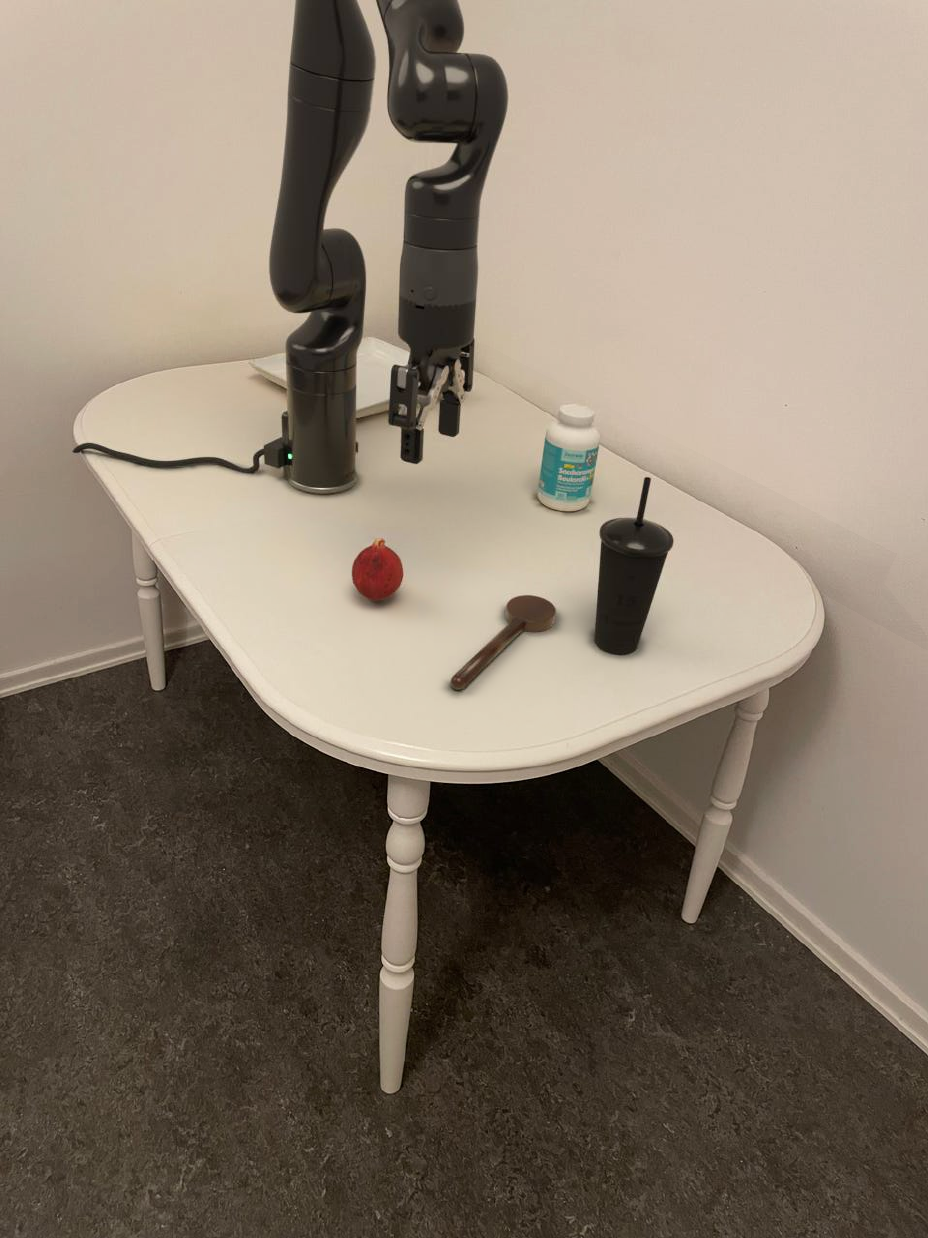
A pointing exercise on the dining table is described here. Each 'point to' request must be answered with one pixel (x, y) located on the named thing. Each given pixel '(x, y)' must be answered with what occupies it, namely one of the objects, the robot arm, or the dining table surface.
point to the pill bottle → (569, 459)
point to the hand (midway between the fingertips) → (430, 447)
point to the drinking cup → (628, 577)
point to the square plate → (371, 373)
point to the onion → (377, 571)
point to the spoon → (509, 633)
